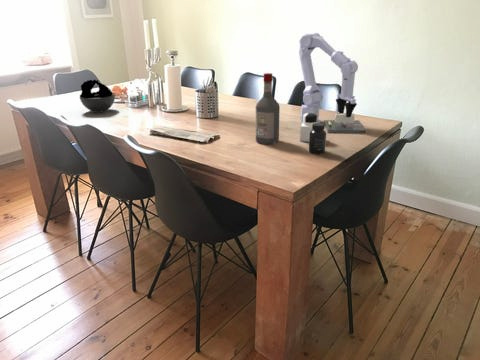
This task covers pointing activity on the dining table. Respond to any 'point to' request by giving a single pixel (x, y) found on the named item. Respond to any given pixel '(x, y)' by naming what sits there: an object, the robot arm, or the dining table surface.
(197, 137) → the newspaper
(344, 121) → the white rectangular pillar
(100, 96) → the coal bowl
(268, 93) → the liquor
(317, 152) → the supplement bottle
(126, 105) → the dining table surface
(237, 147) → the dining table surface
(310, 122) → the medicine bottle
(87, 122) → the dining table surface
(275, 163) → the dining table surface
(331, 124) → the base
